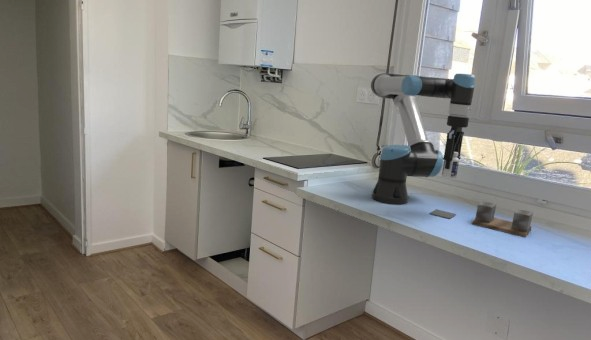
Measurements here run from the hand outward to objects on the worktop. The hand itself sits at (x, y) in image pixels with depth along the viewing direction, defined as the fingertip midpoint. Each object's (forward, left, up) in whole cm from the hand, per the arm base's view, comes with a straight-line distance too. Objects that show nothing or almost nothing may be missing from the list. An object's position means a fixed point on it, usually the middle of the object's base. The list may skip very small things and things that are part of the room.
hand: (448, 176), depth 168 cm
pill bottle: (0, 0, 0) cm, 0 cm away
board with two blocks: (+21, +3, -16) cm, 26 cm away
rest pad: (0, 0, -16) cm, 16 cm away
